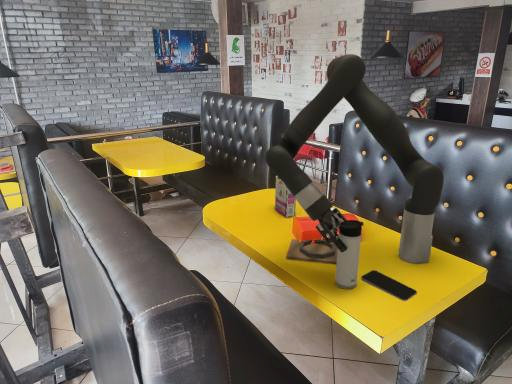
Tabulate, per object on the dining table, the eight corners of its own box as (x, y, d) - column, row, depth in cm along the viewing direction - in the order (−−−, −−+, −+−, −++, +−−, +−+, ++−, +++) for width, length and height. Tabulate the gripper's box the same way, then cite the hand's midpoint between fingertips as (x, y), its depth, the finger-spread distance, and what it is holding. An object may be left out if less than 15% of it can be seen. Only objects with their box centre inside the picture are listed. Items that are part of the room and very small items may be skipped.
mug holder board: (346, 246, 134) (347, 240, 133) (346, 265, 121) (347, 258, 120) (291, 241, 138) (291, 235, 138) (285, 258, 125) (286, 252, 125)
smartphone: (404, 301, 102) (359, 277, 113) (404, 304, 103) (359, 280, 113) (418, 291, 106) (373, 269, 117) (417, 294, 107) (373, 272, 118)
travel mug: (358, 290, 107) (364, 227, 101) (335, 288, 109) (339, 225, 102) (357, 279, 113) (362, 218, 107) (335, 277, 114) (339, 217, 108)
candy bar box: (295, 216, 162) (297, 180, 157) (285, 218, 160) (286, 182, 155) (284, 208, 172) (285, 174, 167) (274, 209, 170) (275, 175, 165)
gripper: (314, 201, 101) (352, 248, 99) (330, 187, 113) (364, 229, 111) (295, 216, 105) (332, 261, 103) (312, 201, 117) (346, 241, 115)
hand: (349, 244), depth 107 cm, fingers open, 8 cm apart
